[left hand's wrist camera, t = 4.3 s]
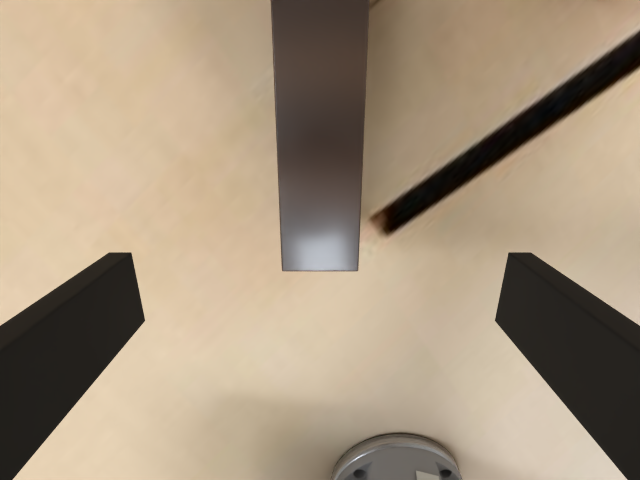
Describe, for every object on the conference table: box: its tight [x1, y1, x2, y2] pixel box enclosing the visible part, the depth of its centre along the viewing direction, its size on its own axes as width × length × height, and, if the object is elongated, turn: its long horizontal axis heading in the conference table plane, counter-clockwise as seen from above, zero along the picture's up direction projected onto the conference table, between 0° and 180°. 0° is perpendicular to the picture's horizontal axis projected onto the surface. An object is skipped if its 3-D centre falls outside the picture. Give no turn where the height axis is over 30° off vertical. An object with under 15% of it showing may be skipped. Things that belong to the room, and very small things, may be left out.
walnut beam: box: [271, 0, 369, 271], centre depth 22 cm, size 28×5×9 cm, turn 0°
